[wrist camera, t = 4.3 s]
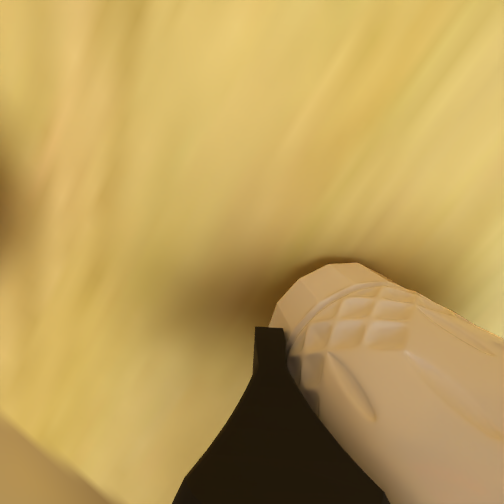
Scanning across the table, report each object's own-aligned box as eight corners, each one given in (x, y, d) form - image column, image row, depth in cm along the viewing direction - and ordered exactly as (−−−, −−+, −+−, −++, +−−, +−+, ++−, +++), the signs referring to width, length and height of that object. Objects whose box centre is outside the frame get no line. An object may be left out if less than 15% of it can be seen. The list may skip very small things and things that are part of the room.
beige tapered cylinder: (384, 220, 12) (920, 432, 3) (405, 337, 16) (701, 596, 7) (228, 298, 12) (379, 776, 3) (285, 401, 15) (434, 767, 6)
